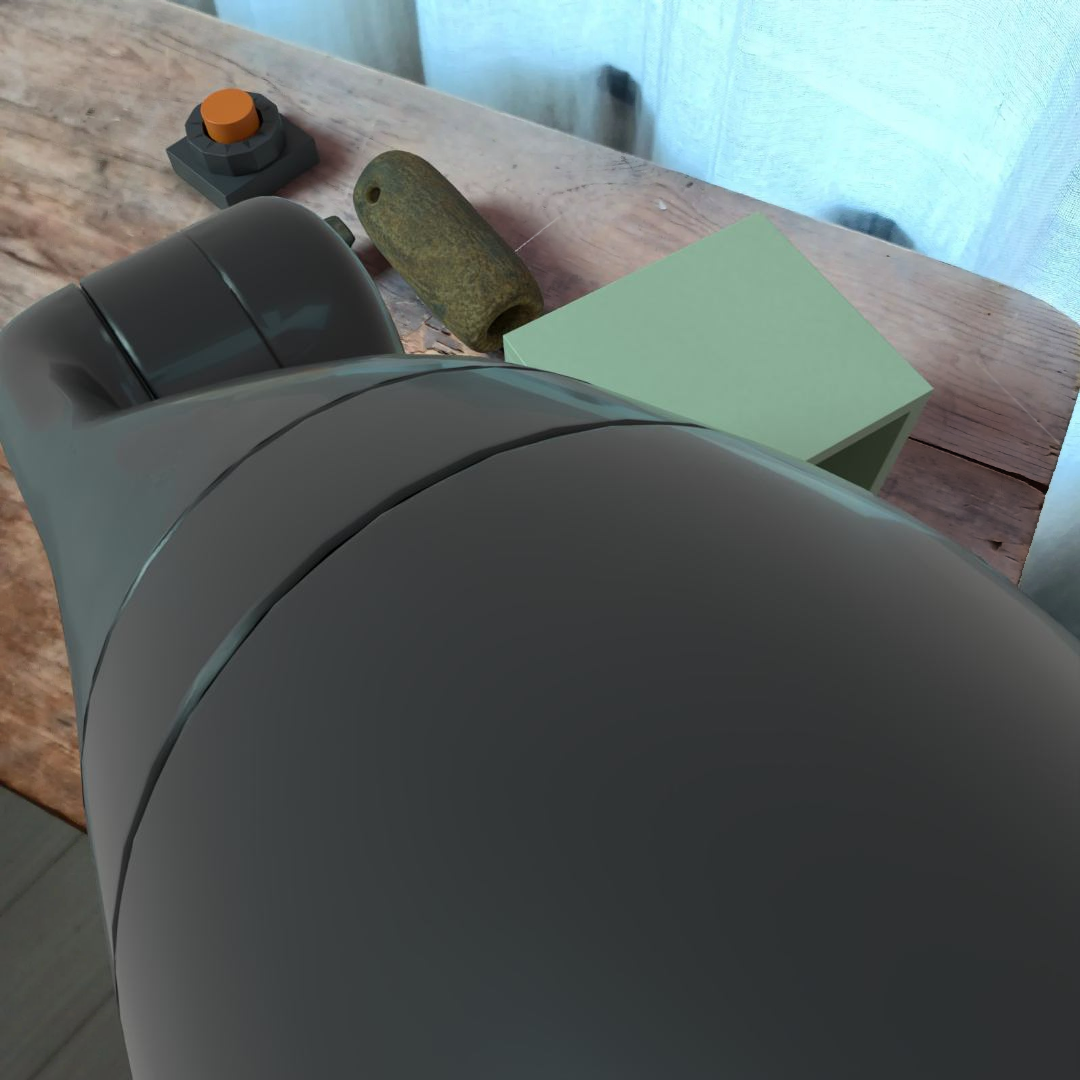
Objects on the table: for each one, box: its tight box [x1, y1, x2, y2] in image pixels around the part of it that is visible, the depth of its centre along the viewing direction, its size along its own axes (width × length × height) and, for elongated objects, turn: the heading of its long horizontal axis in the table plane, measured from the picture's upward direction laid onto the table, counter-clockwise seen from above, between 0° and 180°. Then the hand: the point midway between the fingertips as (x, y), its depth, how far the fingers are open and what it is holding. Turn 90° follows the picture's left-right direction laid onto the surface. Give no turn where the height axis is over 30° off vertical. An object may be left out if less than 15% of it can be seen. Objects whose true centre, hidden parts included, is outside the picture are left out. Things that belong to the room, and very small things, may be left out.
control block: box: [165, 90, 321, 211], centre depth 73 cm, size 8×7×4 cm
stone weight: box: [352, 149, 545, 354], centre depth 66 cm, size 15×7×7 cm, turn 40°
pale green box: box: [503, 210, 935, 496], centre depth 54 cm, size 13×15×15 cm
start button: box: [201, 88, 260, 144], centre depth 71 cm, size 4×4×2 cm
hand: (1048, 810), depth 29 cm, fingers open, 8 cm apart
